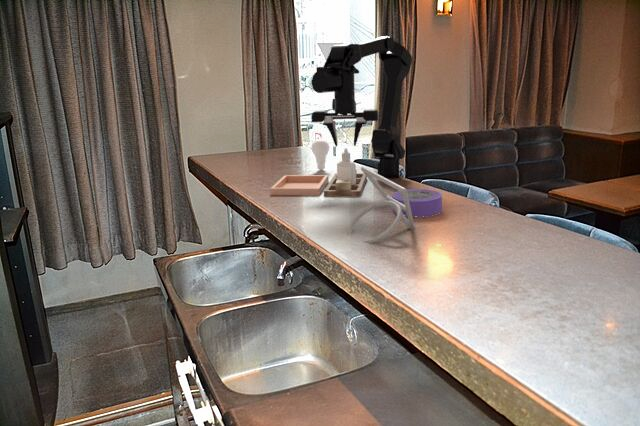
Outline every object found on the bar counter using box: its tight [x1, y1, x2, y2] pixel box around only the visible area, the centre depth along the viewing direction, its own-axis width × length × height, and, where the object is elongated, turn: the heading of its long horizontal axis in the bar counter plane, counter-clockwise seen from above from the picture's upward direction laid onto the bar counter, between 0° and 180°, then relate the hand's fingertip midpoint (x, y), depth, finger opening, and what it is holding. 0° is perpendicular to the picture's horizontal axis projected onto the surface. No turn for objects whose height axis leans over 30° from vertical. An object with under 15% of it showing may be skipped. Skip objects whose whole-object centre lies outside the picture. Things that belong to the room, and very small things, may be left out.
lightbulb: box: [311, 138, 330, 171], centre depth 182 cm, size 6×6×11 cm
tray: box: [269, 174, 330, 196], centre depth 156 cm, size 14×18×2 cm
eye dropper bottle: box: [336, 148, 357, 185], centre depth 154 cm, size 4×6×12 cm
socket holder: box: [323, 172, 368, 197], centre depth 156 cm, size 10×24×2 cm, turn 171°
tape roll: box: [391, 188, 443, 218], centre depth 127 cm, size 12×12×5 cm
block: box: [335, 180, 352, 190], centre depth 148 cm, size 4×4×4 cm
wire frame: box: [346, 166, 416, 244], centre depth 109 cm, size 18×13×16 cm
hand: (345, 145), depth 153 cm, fingers open, 5 cm apart
